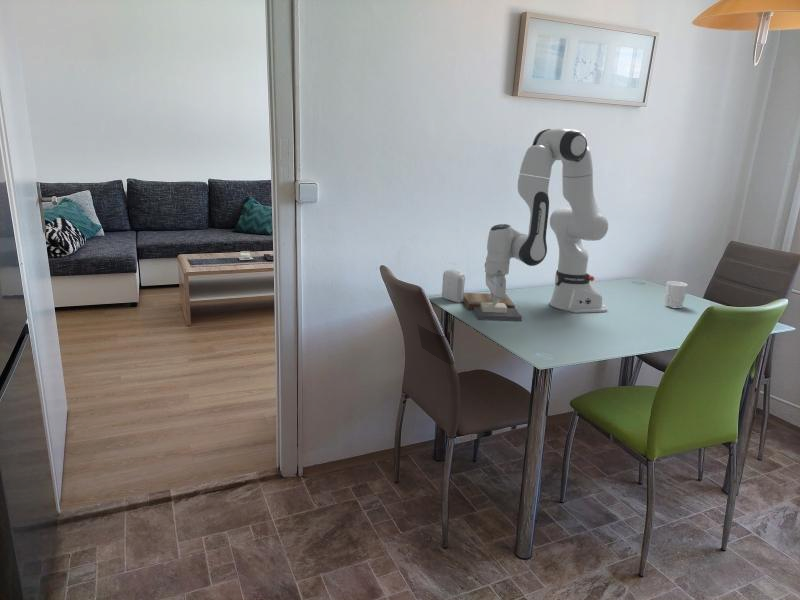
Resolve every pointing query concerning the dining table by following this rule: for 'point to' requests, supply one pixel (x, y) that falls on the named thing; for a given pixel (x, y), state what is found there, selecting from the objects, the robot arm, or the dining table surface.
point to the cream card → (493, 307)
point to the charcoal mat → (498, 314)
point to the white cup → (675, 293)
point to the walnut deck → (484, 300)
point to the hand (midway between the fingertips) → (493, 303)
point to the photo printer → (453, 286)
